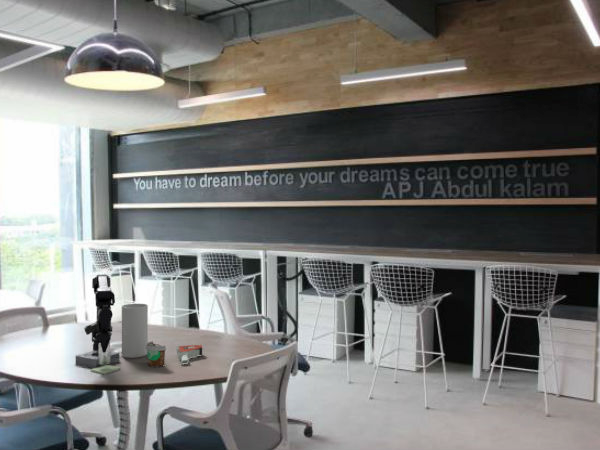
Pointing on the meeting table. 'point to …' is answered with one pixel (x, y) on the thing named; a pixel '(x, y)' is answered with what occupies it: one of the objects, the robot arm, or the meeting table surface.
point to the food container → (155, 354)
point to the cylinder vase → (134, 330)
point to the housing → (94, 359)
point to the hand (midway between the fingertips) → (104, 351)
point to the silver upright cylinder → (104, 355)
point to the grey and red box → (188, 352)
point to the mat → (105, 369)
